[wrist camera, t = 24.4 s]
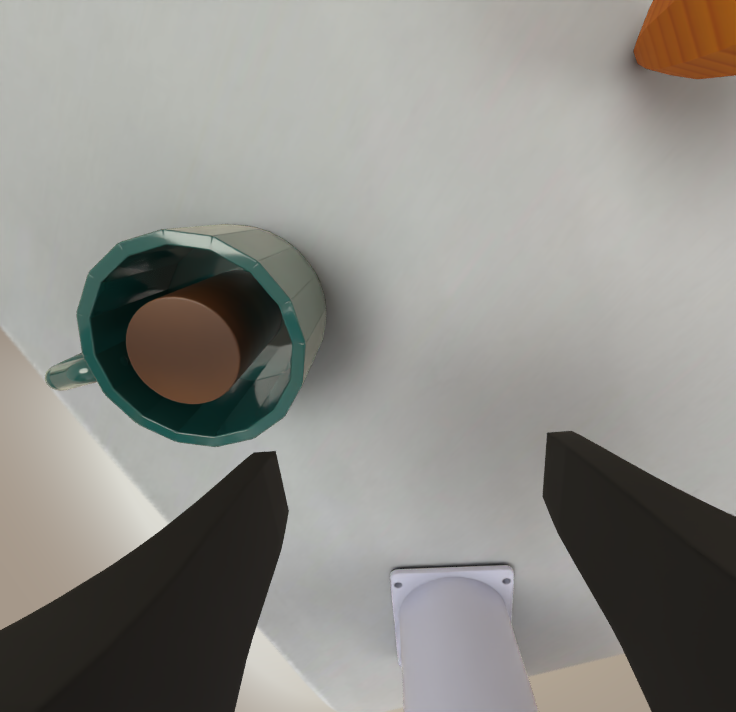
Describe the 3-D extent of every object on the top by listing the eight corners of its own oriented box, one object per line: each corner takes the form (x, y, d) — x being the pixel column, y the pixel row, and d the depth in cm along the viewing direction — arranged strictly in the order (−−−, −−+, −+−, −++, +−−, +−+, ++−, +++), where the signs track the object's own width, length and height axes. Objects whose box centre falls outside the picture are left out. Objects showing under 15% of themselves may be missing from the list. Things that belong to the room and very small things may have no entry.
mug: (296, 203, 18) (256, 199, 12) (346, 363, 20) (332, 421, 15) (84, 267, 19) (-40, 290, 13) (158, 409, 22) (80, 478, 16)
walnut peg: (288, 346, 19) (250, 400, 14) (211, 352, 20) (144, 408, 14) (274, 266, 18) (226, 291, 12) (192, 273, 18) (109, 301, 13)
